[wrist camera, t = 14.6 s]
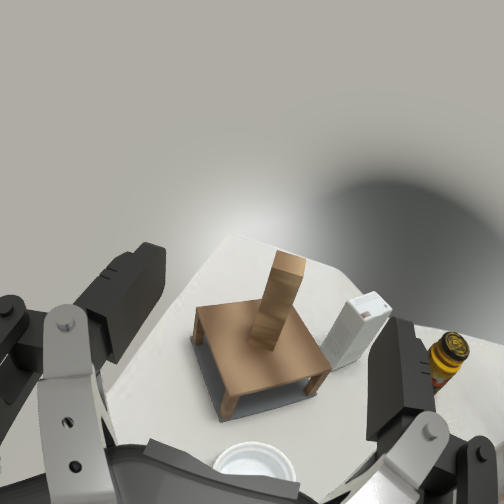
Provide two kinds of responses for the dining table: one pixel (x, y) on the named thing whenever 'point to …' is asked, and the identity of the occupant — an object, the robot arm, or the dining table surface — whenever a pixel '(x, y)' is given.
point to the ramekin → (255, 461)
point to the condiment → (446, 358)
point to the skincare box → (354, 329)
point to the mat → (246, 402)
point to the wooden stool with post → (262, 338)
